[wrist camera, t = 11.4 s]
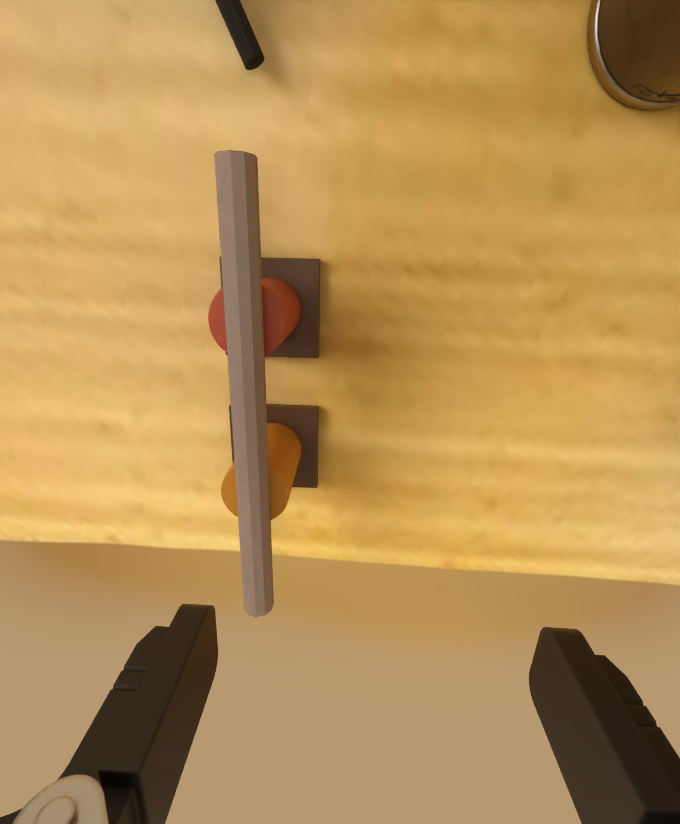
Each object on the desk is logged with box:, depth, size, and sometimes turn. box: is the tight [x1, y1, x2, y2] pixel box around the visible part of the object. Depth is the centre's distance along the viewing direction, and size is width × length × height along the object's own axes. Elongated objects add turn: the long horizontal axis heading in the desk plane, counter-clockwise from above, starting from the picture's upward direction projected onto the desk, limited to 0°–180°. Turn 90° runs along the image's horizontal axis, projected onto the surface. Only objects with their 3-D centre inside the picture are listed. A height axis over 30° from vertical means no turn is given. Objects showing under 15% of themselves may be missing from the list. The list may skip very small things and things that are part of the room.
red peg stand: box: [208, 257, 320, 358], centre depth 28 cm, size 7×7×8 cm
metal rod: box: [214, 150, 274, 617], centre depth 25 cm, size 2×27×2 cm, turn 179°
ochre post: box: [221, 404, 319, 520], centre depth 31 cm, size 7×7×8 cm
